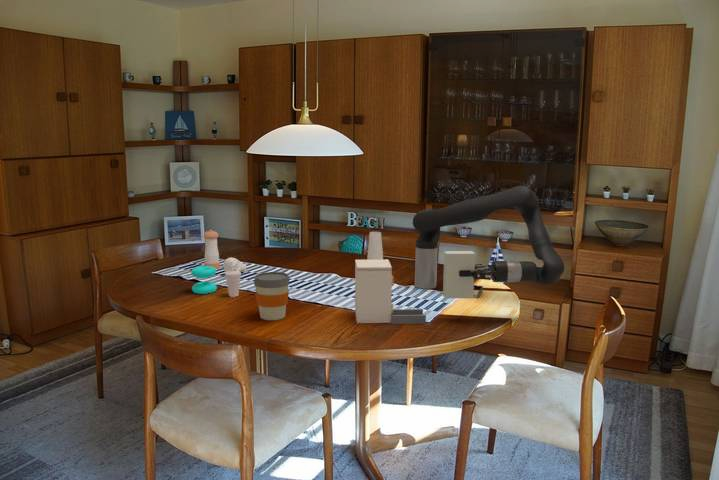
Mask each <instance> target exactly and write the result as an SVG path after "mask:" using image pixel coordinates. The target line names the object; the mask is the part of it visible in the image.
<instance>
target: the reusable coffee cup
mask: <svg viewBox="0 0 719 480" xmlns="http://www.w3.org/2000/svg"><path fill="white" fill-rule="evenodd" d="M253 285H254V286H255V293H254V295H255V299H256V304H257V305H258V311H259V316H260V319H262V320H265V321H277V320H279V321H280V320H282V319H284V318H285V317H286V309H287V304H288V303H289V296H290V295H289V294H290V290H289V286H290V277H289V274H288V273H285V272H283V271H282V272H279V271H268V272H267V271H266V272H260V273H258V274H255V276H254V281H253Z"/></svg>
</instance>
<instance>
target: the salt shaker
mask: <svg viewBox="0 0 719 480" xmlns="http://www.w3.org/2000/svg"><path fill="white" fill-rule="evenodd" d="M202 237H203V239H204V241H205V242H204V243H205V248H204V263H203V264H204V265H203V266H211V267H214V268H215V269H219V268H220V269H221V262H220V252H219V249H218V238H219V233H218V232H217V231H215V230H213V229H209V230H207V231H204V233H203V235H202ZM220 269H219V270H220Z"/></svg>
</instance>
